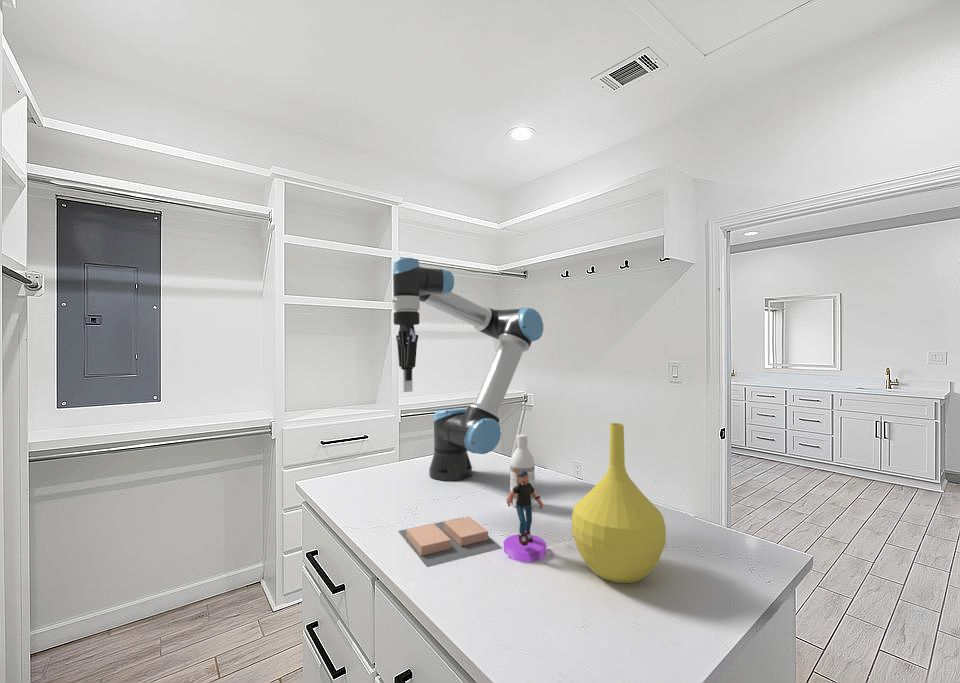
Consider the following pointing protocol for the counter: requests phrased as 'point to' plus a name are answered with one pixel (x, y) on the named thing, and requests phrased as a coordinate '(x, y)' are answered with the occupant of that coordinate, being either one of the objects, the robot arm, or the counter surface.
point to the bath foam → (522, 466)
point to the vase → (618, 523)
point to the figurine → (524, 525)
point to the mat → (453, 549)
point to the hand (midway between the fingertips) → (407, 391)
